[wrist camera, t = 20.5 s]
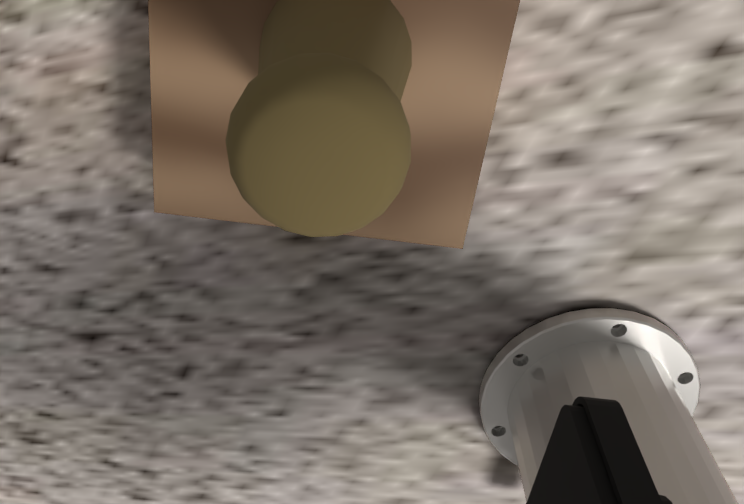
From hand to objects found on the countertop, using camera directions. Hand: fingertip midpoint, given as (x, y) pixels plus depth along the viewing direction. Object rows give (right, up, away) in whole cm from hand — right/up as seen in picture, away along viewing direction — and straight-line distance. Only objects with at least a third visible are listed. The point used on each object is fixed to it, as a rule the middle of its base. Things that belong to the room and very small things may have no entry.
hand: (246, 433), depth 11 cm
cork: (0, +11, +18) cm, 21 cm away
